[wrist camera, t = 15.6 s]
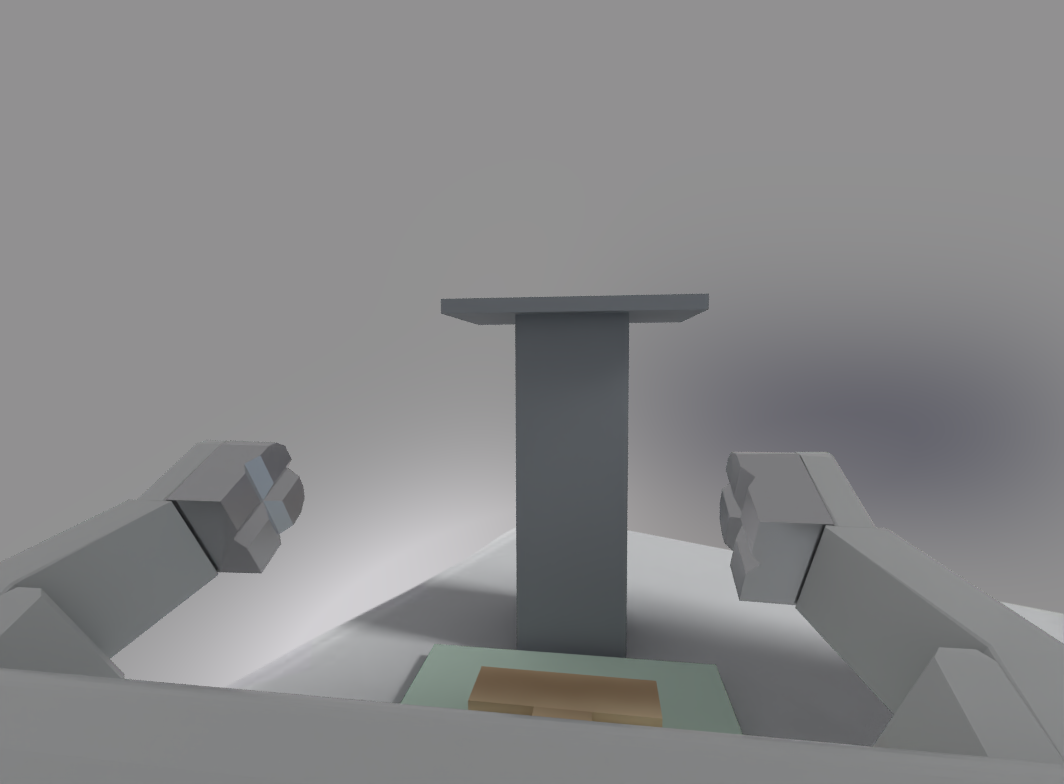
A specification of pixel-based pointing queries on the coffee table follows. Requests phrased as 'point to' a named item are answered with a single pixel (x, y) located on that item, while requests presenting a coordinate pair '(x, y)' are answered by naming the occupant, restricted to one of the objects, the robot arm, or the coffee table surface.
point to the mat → (682, 687)
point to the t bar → (567, 696)
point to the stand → (572, 459)
